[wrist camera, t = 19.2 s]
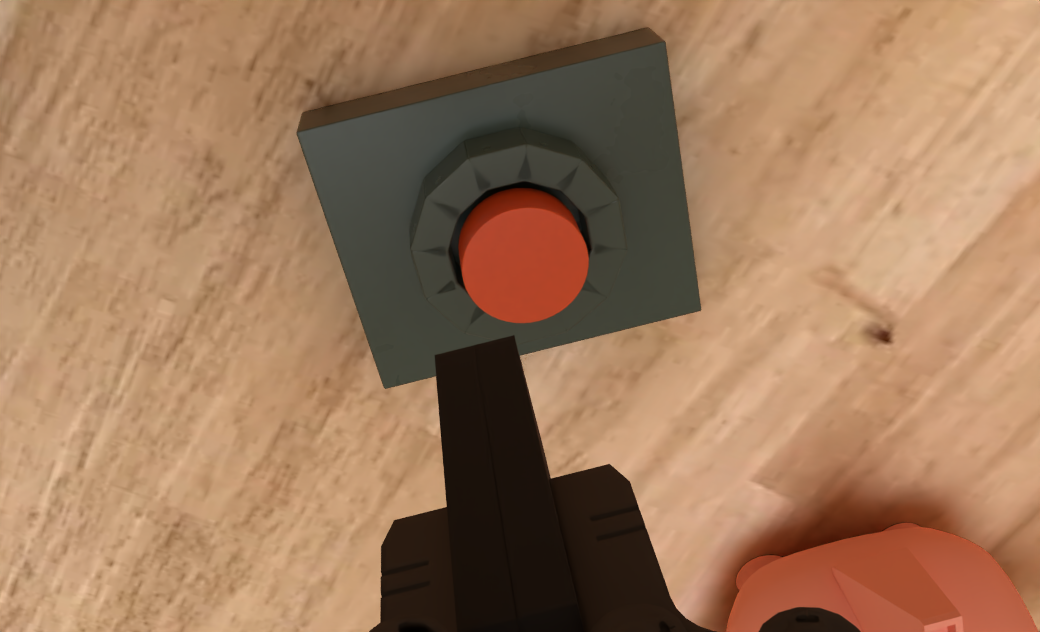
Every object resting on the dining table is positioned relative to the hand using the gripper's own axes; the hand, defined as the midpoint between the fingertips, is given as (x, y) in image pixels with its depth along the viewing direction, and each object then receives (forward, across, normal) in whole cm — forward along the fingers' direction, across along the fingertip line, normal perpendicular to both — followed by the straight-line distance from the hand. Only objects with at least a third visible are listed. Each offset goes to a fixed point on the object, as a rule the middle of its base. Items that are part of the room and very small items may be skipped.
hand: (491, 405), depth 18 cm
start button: (+13, +2, -3) cm, 14 cm away
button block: (+17, +2, -3) cm, 17 cm away
